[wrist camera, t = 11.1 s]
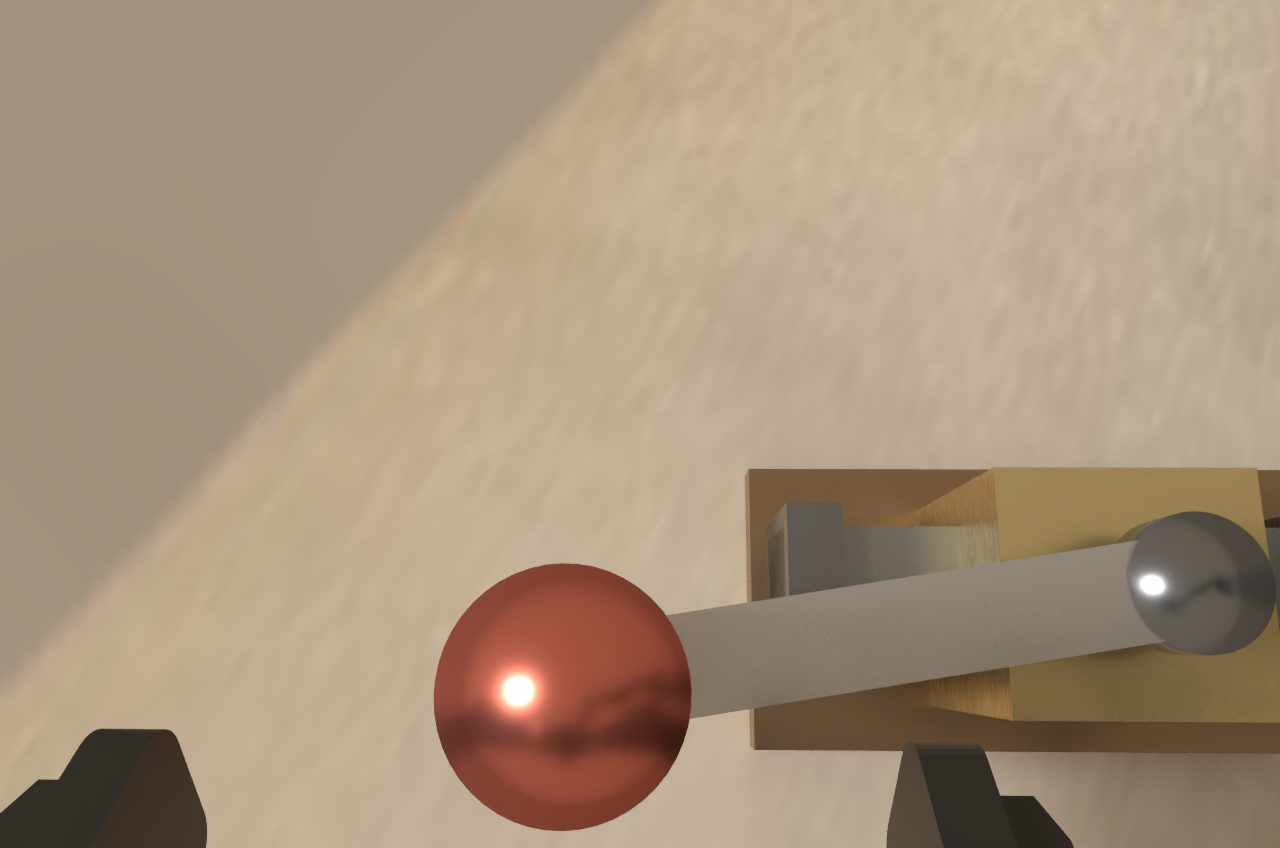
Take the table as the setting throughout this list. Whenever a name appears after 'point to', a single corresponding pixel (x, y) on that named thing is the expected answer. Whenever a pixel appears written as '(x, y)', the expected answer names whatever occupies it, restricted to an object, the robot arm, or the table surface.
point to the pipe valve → (997, 532)
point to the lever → (795, 653)
